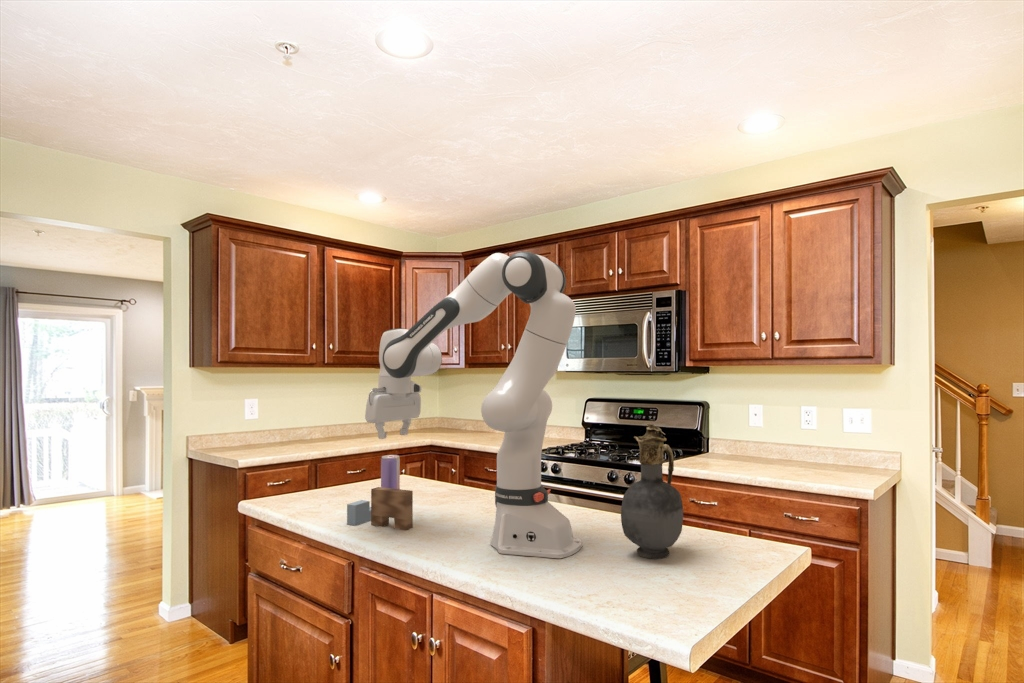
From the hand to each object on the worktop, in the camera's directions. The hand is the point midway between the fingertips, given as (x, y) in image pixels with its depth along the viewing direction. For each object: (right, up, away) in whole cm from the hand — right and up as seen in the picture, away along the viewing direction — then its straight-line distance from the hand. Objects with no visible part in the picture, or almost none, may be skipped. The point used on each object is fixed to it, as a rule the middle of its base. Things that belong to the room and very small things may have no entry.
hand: (393, 436), depth 166 cm
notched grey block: (-8, -25, +8) cm, 27 cm away
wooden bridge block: (0, -25, -1) cm, 25 cm away
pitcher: (+67, -23, -26) cm, 75 cm away
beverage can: (-7, -26, +28) cm, 39 cm away
